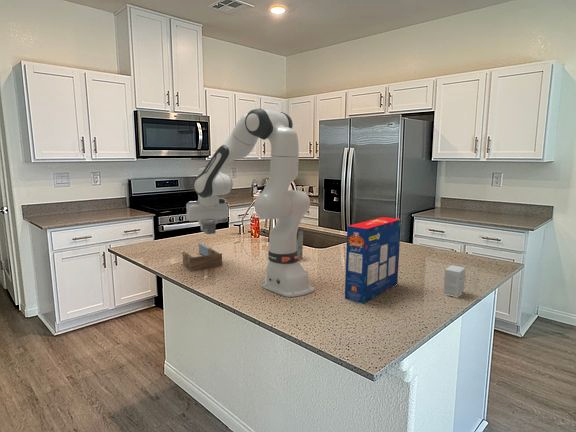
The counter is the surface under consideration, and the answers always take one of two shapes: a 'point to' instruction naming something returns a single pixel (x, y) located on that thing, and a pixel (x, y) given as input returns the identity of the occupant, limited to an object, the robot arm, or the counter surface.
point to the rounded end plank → (203, 249)
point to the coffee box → (299, 243)
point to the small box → (454, 280)
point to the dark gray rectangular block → (209, 227)
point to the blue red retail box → (372, 258)
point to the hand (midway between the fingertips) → (208, 228)
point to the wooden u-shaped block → (202, 260)
